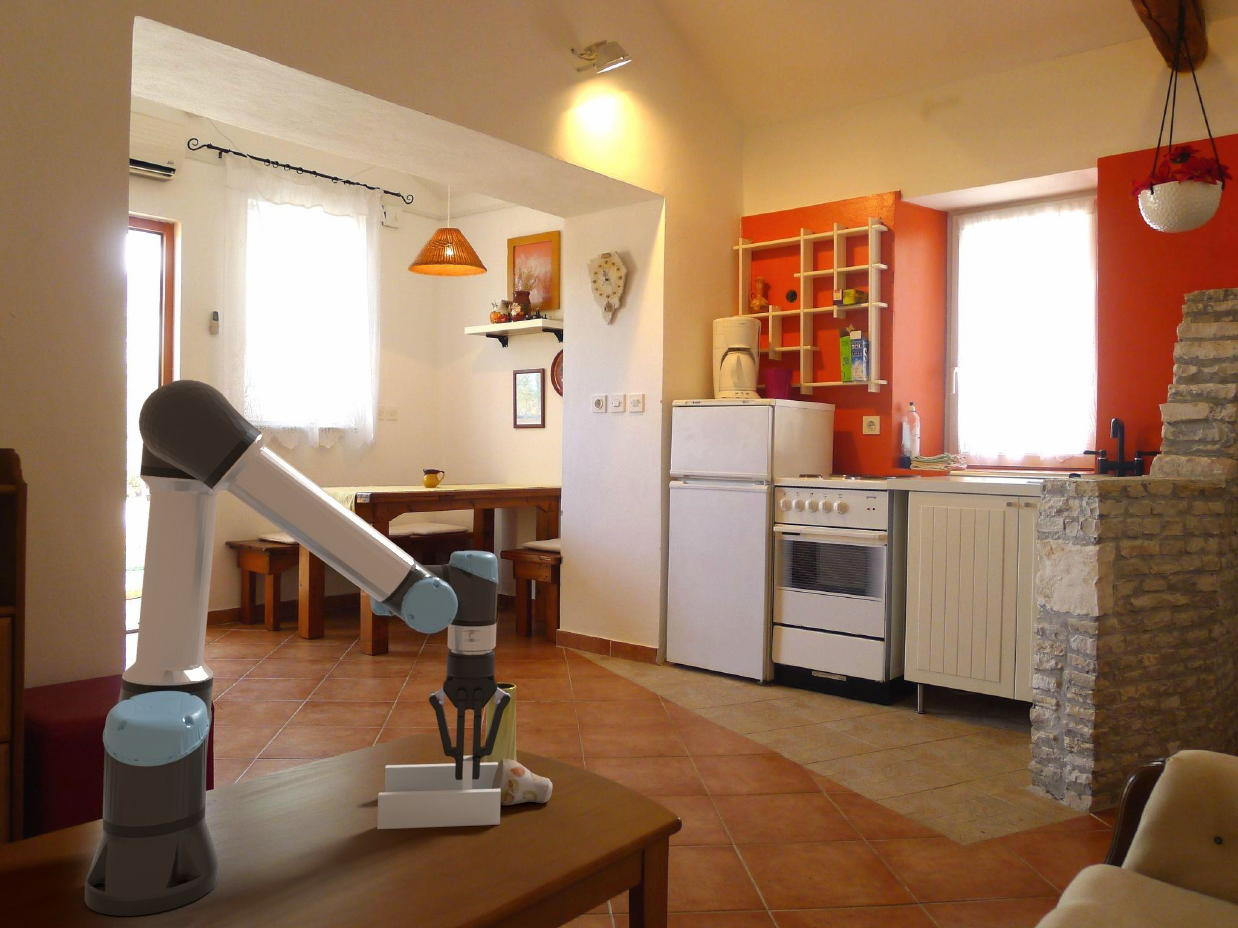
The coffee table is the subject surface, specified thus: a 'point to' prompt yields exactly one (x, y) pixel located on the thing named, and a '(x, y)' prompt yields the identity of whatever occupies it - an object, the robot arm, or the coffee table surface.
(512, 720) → the vase
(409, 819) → the channel
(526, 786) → the mug
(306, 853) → the coffee table surface
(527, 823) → the coffee table surface
